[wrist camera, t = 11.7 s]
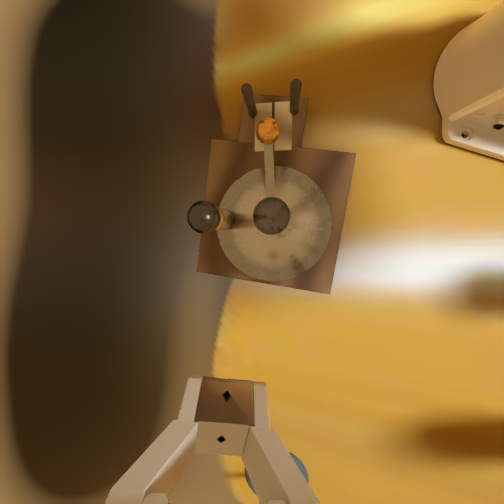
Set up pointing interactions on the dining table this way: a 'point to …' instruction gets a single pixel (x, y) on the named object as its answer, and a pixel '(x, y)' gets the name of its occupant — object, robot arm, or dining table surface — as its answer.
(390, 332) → the dining table surface
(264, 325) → the dining table surface
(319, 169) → the stand
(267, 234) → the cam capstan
